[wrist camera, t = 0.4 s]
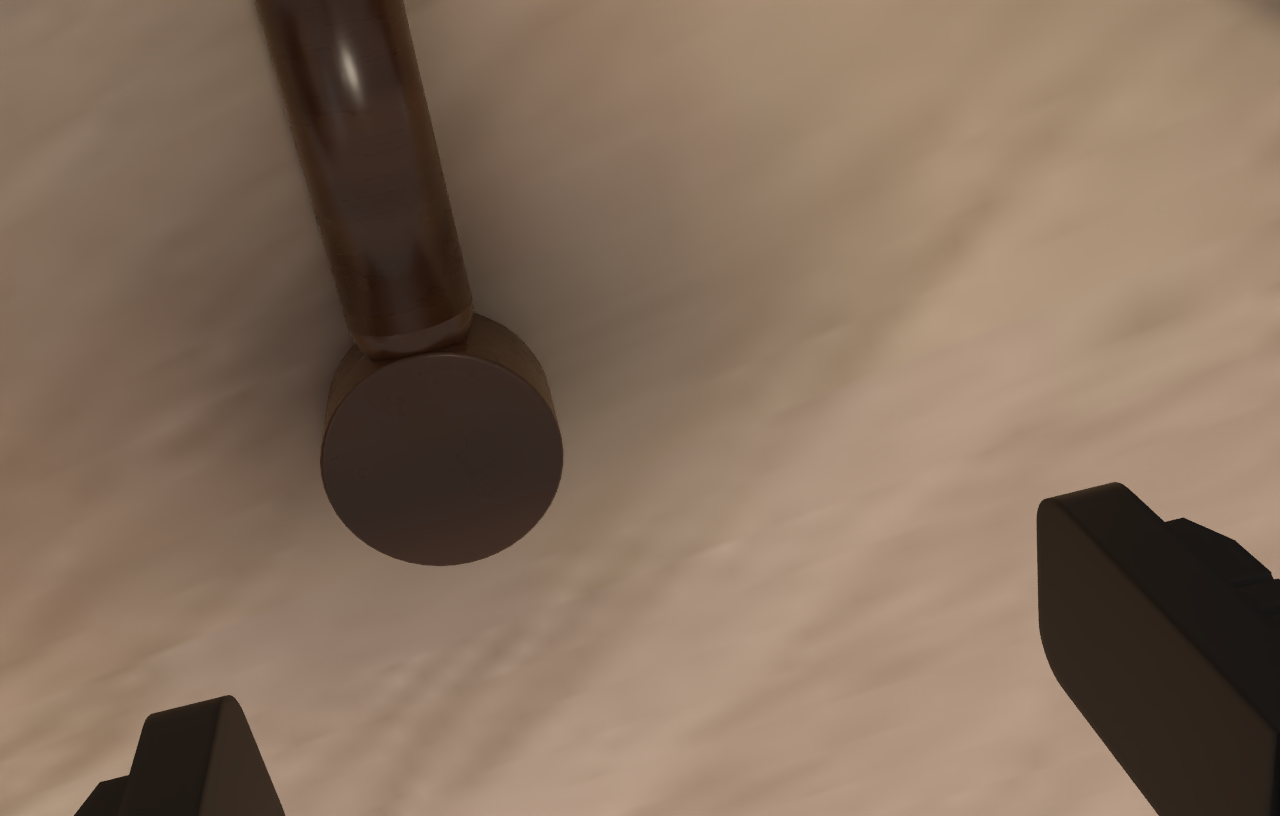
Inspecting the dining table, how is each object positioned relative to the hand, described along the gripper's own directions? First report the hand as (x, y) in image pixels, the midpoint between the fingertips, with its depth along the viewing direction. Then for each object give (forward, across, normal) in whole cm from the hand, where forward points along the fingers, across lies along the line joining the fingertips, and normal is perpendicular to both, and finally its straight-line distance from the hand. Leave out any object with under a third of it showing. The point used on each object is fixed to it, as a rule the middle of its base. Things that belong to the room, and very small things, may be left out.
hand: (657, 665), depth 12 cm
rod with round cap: (+16, +3, -1) cm, 16 cm away
